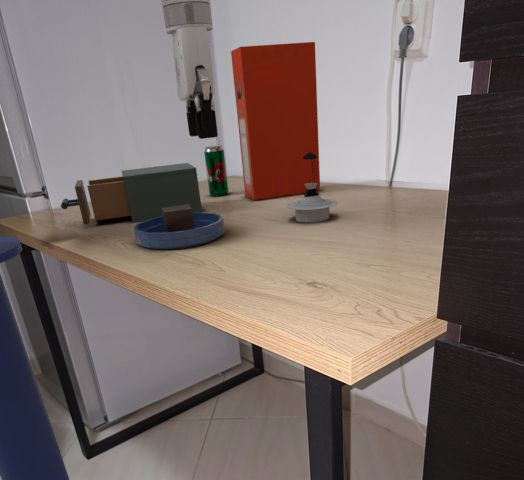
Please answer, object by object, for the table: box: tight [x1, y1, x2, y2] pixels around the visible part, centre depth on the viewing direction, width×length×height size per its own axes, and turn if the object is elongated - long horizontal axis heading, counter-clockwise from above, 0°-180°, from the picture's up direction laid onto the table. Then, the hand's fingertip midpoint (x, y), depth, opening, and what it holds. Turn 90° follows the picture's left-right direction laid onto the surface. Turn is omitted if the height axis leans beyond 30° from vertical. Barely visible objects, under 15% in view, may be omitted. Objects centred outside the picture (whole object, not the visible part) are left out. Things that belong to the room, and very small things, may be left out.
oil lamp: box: [286, 151, 339, 223], centre depth 95 cm, size 12×10×10 cm
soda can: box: [204, 145, 229, 197], centre depth 129 cm, size 5×5×12 cm
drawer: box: [60, 175, 131, 225], centre depth 111 cm, size 18×11×8 cm, turn 106°
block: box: [161, 204, 195, 232], centre depth 91 cm, size 5×5×5 cm
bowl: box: [133, 211, 226, 250], centre depth 91 cm, size 16×16×3 cm
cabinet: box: [121, 162, 203, 223], centre depth 114 cm, size 16×13×10 cm
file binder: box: [230, 41, 321, 201], centre depth 118 cm, size 8×17×32 cm, turn 109°
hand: (203, 136), depth 87 cm, fingers open, 9 cm apart
